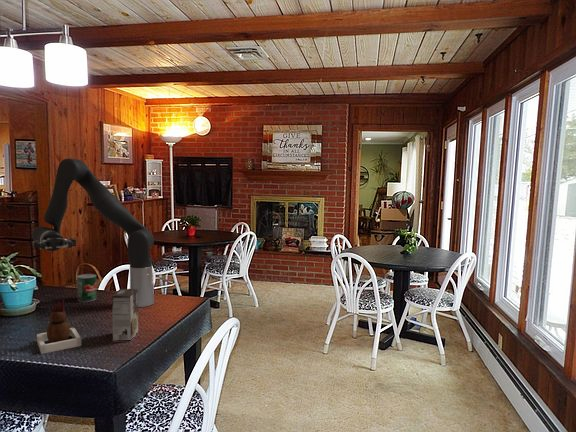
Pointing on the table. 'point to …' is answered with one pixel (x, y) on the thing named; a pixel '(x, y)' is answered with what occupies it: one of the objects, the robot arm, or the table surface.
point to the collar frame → (58, 345)
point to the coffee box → (125, 314)
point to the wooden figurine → (58, 324)
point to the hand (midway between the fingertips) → (57, 246)
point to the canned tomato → (86, 287)
